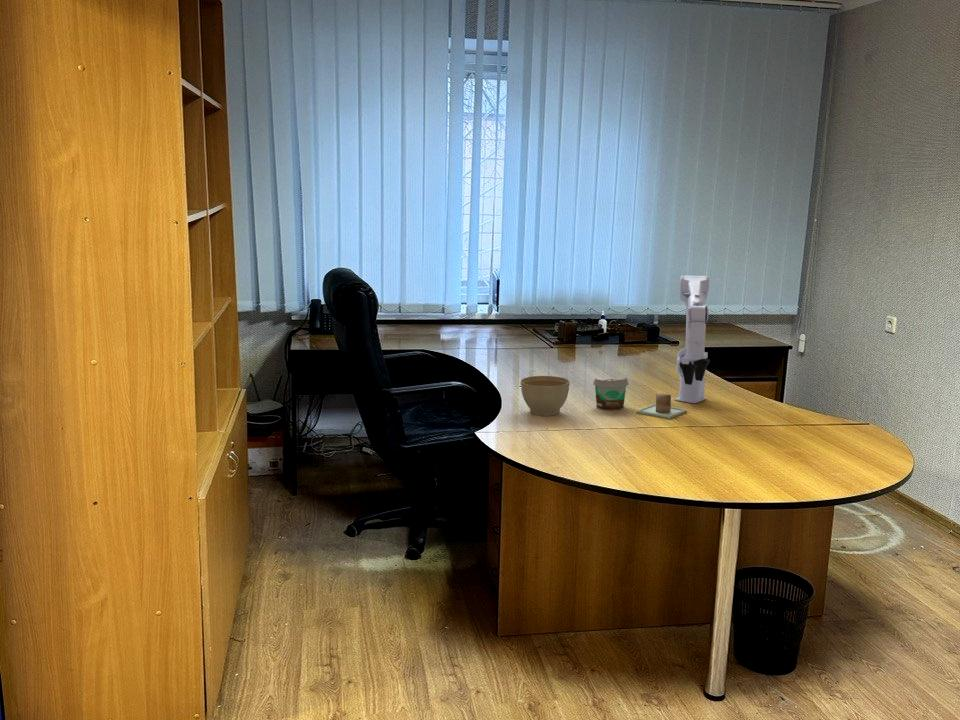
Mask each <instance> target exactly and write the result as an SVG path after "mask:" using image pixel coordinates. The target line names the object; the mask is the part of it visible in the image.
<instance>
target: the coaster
mask: <svg viewBox="0 0 960 720" xmlns="http://www.w3.org/2000/svg"><path fill="white" fill-rule="evenodd" d="M687 411H688V410H687V409H686V408H681V407H675V406H671V412H670V413H658V412H656V403H653V404H650V405H646V406H644V407H641V408H639V409H636V414H639V415H640V414H641V415H646V416H650V417H656V418H662V419H668V420H671V419H673V418H675V417H678V416H681V415H683V414H685V413H687Z"/></svg>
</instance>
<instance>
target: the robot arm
mask: <svg viewBox="0 0 960 720" xmlns="http://www.w3.org/2000/svg"><path fill="white" fill-rule="evenodd" d="M709 290H710V277H709V275H684V274H682V275H681V276H680V278H679V298H680V299H679V300H680V301H681V302H683V303H684V305H685V309H686V311H685V312H686V313H685V314H686V316H685V318H686V319H685V346H684V347H683V348H682V349H681V350H679V351H678V352H677V358H676V373H677V374H679V389H678V390H679V393H678V396H677V397H675V398H674V399H673V400H674V401H677V402H678V401H679V402H684V403H689V404H697V403H700V402H702V401H704V400H707V397H705V391H706V390H705V389H706V380H705V378H704V376H705V374H706V372H707V368H708V366H709V364H710V363H711V360H710V359H708V355H709V354H708V353H709V352H706V351H705V347H706V329H707V327H706V326H707V323H708V321H709V307H708V305H707V304H706V301H707V298H708V294H709Z"/></svg>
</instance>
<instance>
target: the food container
mask: <svg viewBox="0 0 960 720" xmlns="http://www.w3.org/2000/svg"><path fill="white" fill-rule="evenodd" d="M592 384H593V385H594V388H595V402H596V403H595V405H596V408H598V409H601V410H607V411H616V410H617V411H619V410H623V409H624V407H625V397H626V390H627V387H628V385H629V380H628V377H627V376H625V377H624V379H612V378H611V379H610V378H609V379H603V380H602V379H599V378H594V380H593V383H592Z"/></svg>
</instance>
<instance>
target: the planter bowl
mask: <svg viewBox="0 0 960 720" xmlns="http://www.w3.org/2000/svg"><path fill="white" fill-rule="evenodd" d="M570 384H571V381H570V379H568V378H565V377H561V376H554V375H533V376H527V377H526V376H525V377H523V378H522V379H520V386H521V394H522V398H523V401H524V402H525V405H527V407H528V409H529V412H530V413H531V414H532V415H535V416H545V417H548V416H556V415H558V414H559V413H560V412H561V411H560V410H561V408H562V407H563V406H564V405H565V403H566V401H567V398H568V395H569V391H570Z"/></svg>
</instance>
